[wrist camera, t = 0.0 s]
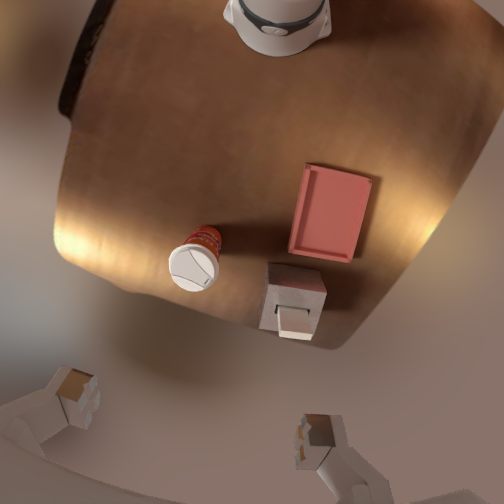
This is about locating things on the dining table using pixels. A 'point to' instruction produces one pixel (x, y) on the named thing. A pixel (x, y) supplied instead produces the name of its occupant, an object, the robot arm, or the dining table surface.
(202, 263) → the paper cup
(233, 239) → the dining table surface
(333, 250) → the tray
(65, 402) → the robot arm
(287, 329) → the long rectangular block
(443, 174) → the dining table surface
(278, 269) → the dispenser
